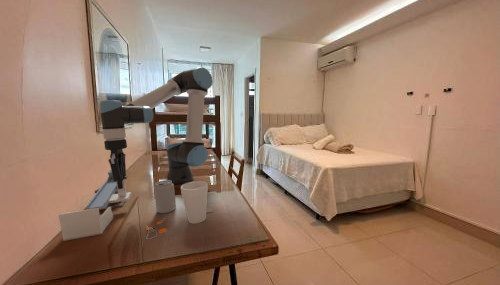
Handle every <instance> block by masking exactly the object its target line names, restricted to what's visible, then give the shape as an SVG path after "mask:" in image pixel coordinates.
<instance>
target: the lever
mask: <svg viewBox="0 0 500 285" xmlns="http://www.w3.org/2000/svg"><path fill="white" fill-rule="evenodd" d="M107 174H108V177H107V179H105V181H104V182H103V184H102V185H101V186H100V187H99V188H100V189H99V188H98V189H99V190H98V192H97V193H94V195H93V197H92V198H91V199H90V200H89V202H88V203H87V204H86V208H87V209H94V208H99V209H103V208H106V207H107V206H108V204H109V203H113V202H120V201H126V202H127V201H129V200H130V198H131V196H132V191H128V192H127V191H126V193H127V194H126V195H125V196H118V194H115V192H116V191H117V183H116V182H114V179H113V174H112V170H111V169H109V171H108V172H107ZM87 209H86V210H87ZM103 210H104V209H103Z"/></svg>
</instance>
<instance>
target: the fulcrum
mask: <svg viewBox="0 0 500 285" xmlns="http://www.w3.org/2000/svg"><path fill="white" fill-rule="evenodd" d="M100 188H101V187H99V188H97V189H96V190H94V194H96V193H97V192H98V190H99V189H100ZM115 194H118V190H117V191H116V192H115ZM126 202H127V201H120V202H113V203H109V204H108V206H107V207H106V208H103V209H99V211H101V210H106V209H107V208H108V207H111V209H114V208H122V207H124V205H125V203H126Z"/></svg>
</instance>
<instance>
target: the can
mask: <svg viewBox="0 0 500 285" xmlns="http://www.w3.org/2000/svg"><path fill="white" fill-rule="evenodd" d="M153 191H154V200H155V201H154V202H155V207H156V208H155V209H156V212H158V213H159V214H169V213H172V212H173V211H174V210H175V209H176V208H177V203H176V194H175V184H173V183H172V181H170V180H167V179H166V180H159V181H157V182H155V185H154V187H153Z"/></svg>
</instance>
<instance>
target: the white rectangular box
mask: <svg viewBox="0 0 500 285" xmlns="http://www.w3.org/2000/svg"><path fill="white" fill-rule="evenodd" d="M58 218H59V219H58V220H59V225H60V230H61V235H62V241H63V242H66V241H70V240H71V241H72V240H77V239H82V238H87V237H92V236H98V235H102V234H103V233H104V232H105V230H106V229H107V227H108V226H109V225H110V224H111V222H112V221H113V220H114V213H113V211H112V208H111V207H108V208H107V209H105V210H104V212H103V213H100V210H99V208H94V209H82V210H81V209H80V210H75V211H68V212H62V213H61V212H60V213H59V214H58Z"/></svg>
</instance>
